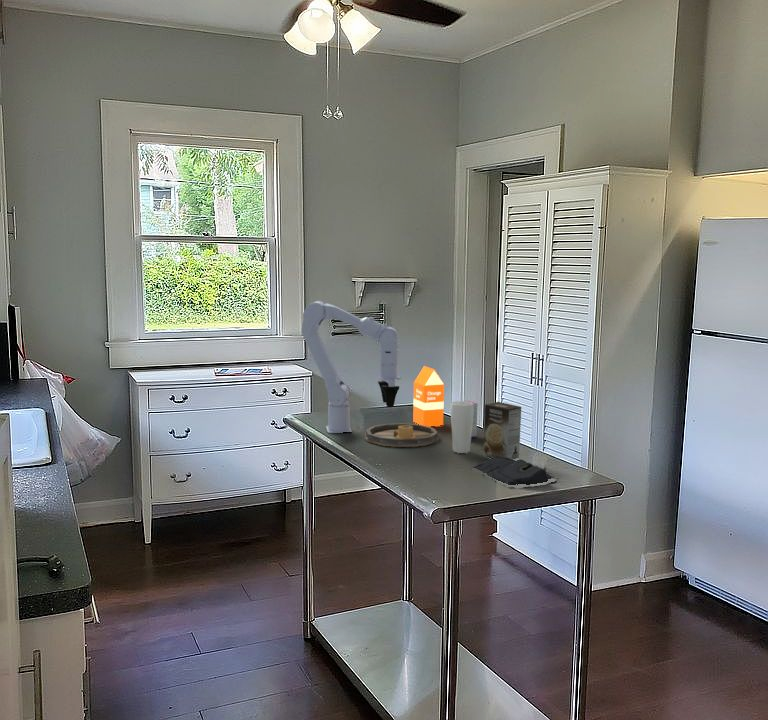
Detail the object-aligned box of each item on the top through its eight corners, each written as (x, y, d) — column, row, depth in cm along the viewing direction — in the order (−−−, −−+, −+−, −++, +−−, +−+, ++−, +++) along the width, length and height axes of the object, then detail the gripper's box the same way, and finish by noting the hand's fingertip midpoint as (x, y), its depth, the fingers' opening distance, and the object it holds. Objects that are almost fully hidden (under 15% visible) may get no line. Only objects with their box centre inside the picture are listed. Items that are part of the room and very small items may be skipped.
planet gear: (393, 438, 249) (393, 424, 249) (413, 437, 250) (413, 424, 250) (397, 443, 243) (397, 429, 242) (417, 442, 244) (417, 428, 243)
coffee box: (482, 457, 230) (483, 404, 228) (496, 454, 235) (497, 401, 232) (506, 464, 224) (508, 408, 221) (520, 460, 228) (522, 406, 226)
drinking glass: (476, 454, 234) (477, 404, 232) (454, 455, 232) (456, 405, 230) (467, 448, 241) (468, 400, 239) (446, 449, 239) (447, 401, 237)
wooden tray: (360, 430, 263) (360, 423, 262) (430, 429, 266) (430, 421, 266) (369, 448, 239) (369, 440, 239) (446, 446, 243) (446, 438, 243)
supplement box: (477, 437, 255) (478, 403, 253) (461, 439, 252) (462, 404, 251) (467, 434, 260) (468, 400, 258) (452, 435, 257) (453, 401, 256)
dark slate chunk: (512, 464, 225) (513, 448, 224) (561, 485, 205) (561, 467, 205) (467, 470, 219) (467, 453, 218) (512, 492, 199) (512, 474, 198)
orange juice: (423, 427, 269) (424, 369, 266) (412, 422, 277) (413, 366, 274) (443, 425, 272) (444, 368, 269) (432, 420, 280) (433, 365, 277)
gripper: (404, 367, 252) (403, 408, 253) (396, 360, 266) (396, 400, 268) (382, 367, 250) (382, 409, 252) (376, 361, 265) (376, 400, 267)
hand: (388, 404), depth 260 cm, fingers open, 7 cm apart
